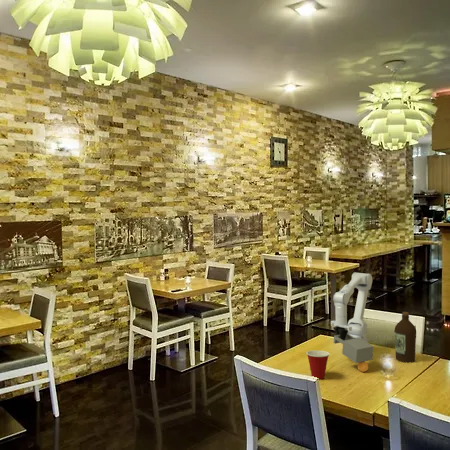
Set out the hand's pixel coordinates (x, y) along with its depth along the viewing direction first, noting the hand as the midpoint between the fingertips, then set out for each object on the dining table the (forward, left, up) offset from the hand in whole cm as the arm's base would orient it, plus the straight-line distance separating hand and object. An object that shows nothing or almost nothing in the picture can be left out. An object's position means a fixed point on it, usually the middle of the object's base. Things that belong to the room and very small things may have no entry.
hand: (341, 341), depth 230 cm
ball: (0, +16, -8) cm, 18 cm away
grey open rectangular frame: (0, +8, -4) cm, 9 cm away
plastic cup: (+24, +13, -11) cm, 29 cm away
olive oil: (-31, +13, -11) cm, 35 cm away
